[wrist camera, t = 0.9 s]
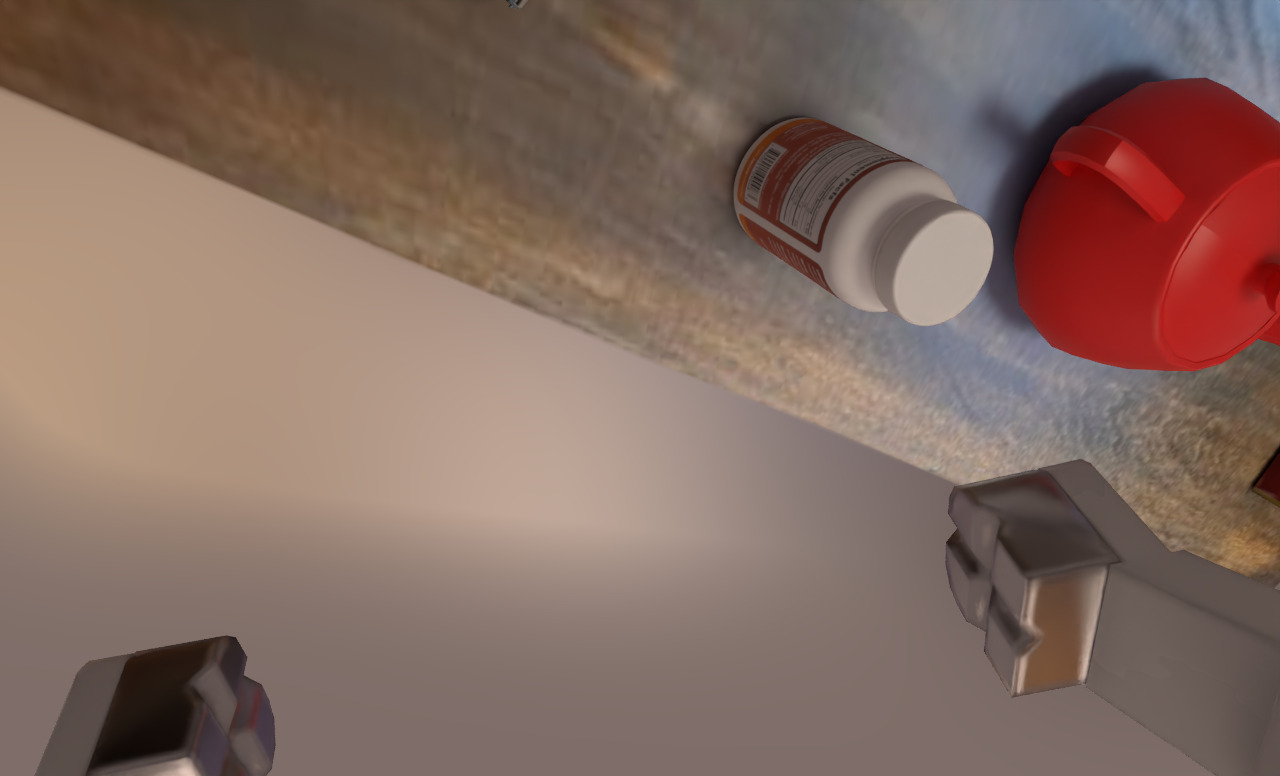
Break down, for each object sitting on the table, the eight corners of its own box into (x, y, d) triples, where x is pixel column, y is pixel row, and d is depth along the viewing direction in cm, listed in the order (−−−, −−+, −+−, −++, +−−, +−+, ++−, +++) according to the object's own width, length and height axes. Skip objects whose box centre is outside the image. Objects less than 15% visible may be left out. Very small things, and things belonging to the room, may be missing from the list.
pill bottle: (845, 218, 48) (1007, 312, 39) (736, 262, 46) (880, 369, 38) (839, 95, 44) (1015, 168, 36) (720, 137, 43) (875, 225, 34)
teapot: (892, 239, 50) (1076, 343, 40) (1082, -42, 47) (1331, 1, 37) (1113, 394, 65) (1285, 497, 55) (1269, 190, 62) (1480, 262, 52)
